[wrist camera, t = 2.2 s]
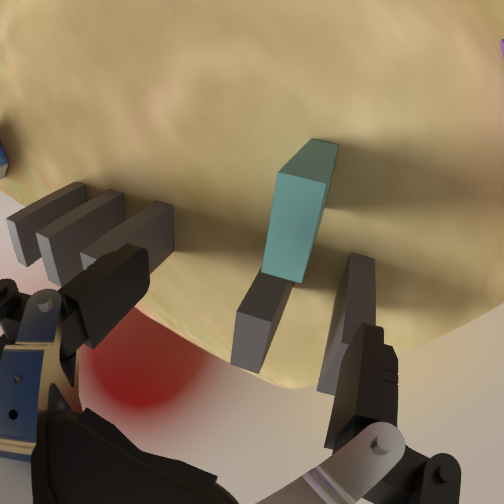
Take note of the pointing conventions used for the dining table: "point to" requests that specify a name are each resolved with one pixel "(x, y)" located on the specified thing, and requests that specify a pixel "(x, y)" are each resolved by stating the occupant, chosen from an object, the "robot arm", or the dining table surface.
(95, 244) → the domino
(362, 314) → the domino
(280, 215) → the domino
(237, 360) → the domino
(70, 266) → the domino
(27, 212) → the domino
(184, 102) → the dining table surface
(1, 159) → the medicine box
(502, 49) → the candy box
